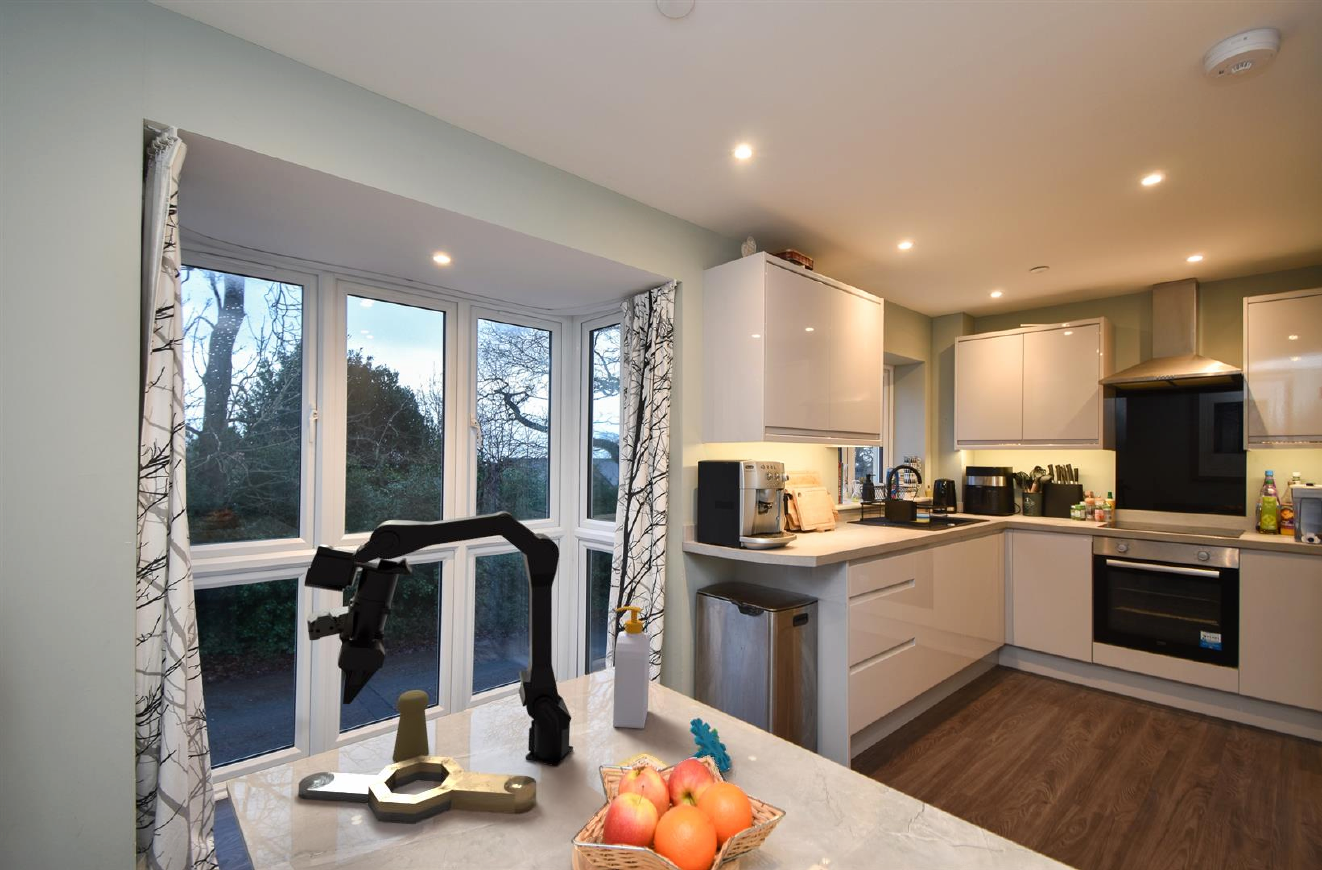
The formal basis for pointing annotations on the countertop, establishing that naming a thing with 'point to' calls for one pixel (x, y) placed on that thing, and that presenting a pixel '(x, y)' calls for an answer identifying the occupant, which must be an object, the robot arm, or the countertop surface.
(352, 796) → the lower chain end
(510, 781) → the upper chain end
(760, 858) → the countertop surface
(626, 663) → the soap bottle
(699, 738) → the teal irregular branched piece
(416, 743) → the cork
